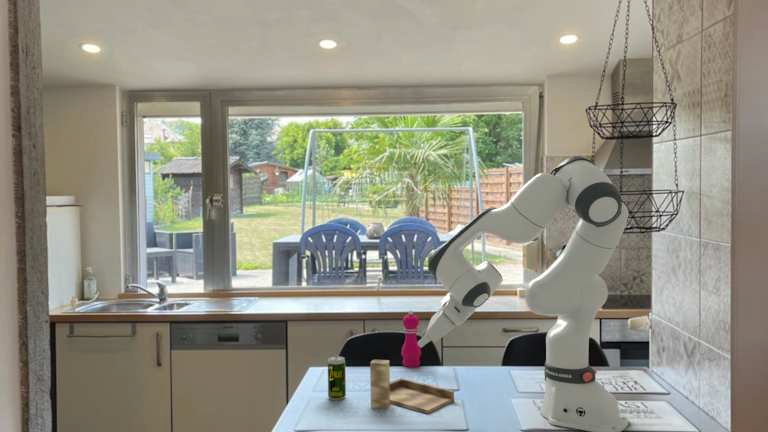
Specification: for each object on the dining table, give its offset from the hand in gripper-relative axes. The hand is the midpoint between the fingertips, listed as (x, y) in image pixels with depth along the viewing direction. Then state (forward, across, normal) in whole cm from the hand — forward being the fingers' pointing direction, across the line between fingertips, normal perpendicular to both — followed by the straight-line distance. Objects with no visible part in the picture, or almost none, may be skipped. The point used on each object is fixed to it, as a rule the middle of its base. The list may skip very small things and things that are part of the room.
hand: (420, 341), depth 161 cm
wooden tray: (+16, -6, +12) cm, 20 cm away
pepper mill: (+20, -43, +9) cm, 48 cm away
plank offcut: (+22, 0, +5) cm, 23 cm away
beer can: (+33, -5, -4) cm, 33 cm away
